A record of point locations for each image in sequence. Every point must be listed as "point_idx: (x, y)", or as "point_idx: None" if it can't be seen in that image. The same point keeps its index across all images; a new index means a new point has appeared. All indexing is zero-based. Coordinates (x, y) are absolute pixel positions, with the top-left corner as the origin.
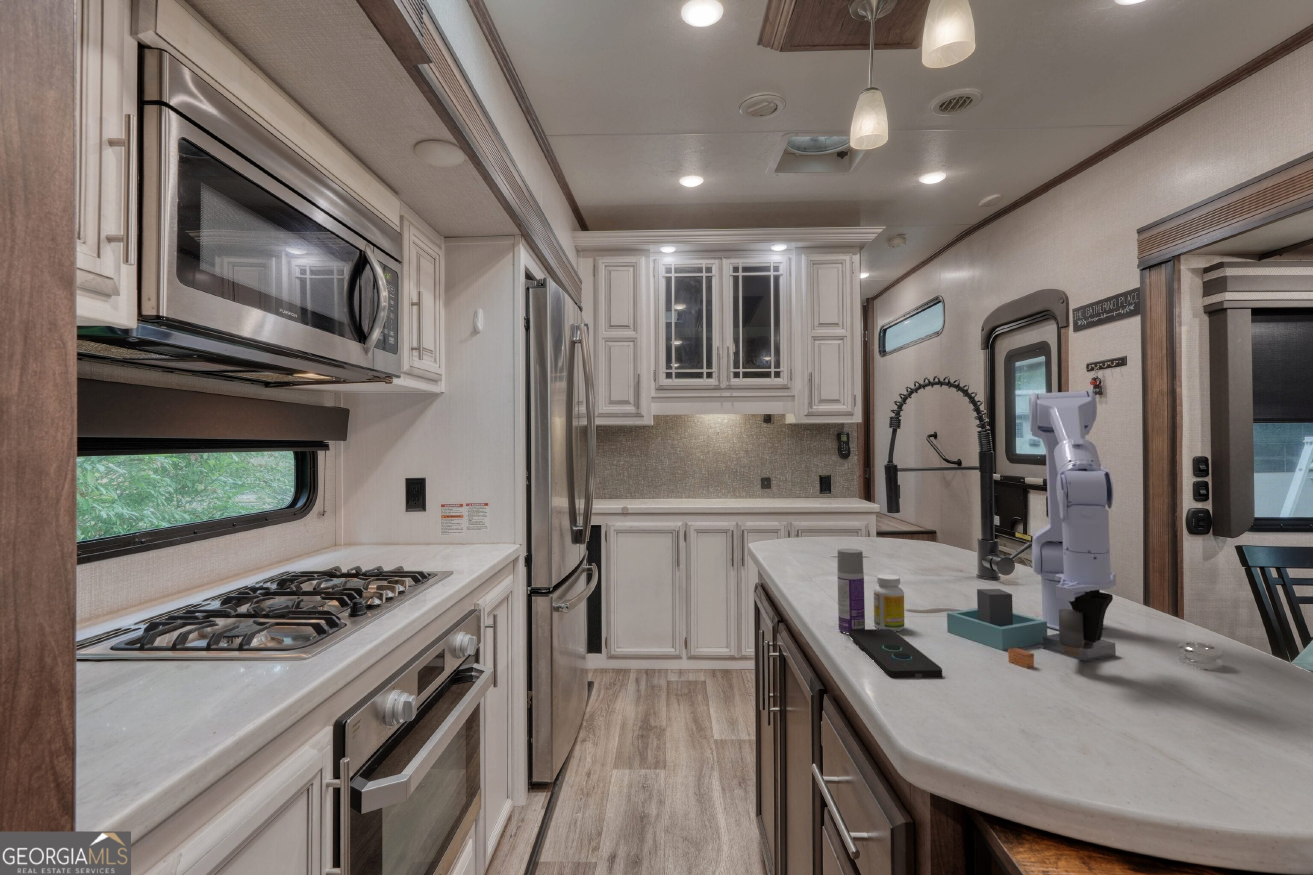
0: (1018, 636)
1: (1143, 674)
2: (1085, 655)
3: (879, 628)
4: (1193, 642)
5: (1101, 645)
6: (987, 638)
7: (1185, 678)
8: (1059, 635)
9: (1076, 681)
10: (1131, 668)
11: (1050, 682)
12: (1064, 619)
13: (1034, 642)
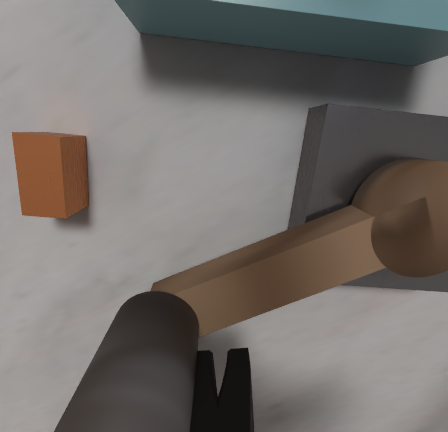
0: (245, 28)
1: (303, 365)
2: None
3: None
4: None
5: (382, 283)
6: None
7: (353, 411)
8: (119, 320)
9: (95, 321)
10: (329, 335)
11: (18, 296)
12: None
13: (339, 54)
